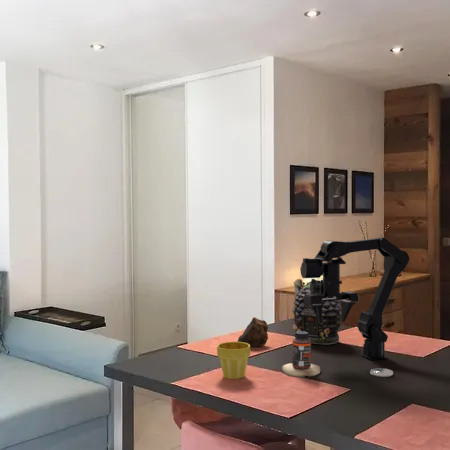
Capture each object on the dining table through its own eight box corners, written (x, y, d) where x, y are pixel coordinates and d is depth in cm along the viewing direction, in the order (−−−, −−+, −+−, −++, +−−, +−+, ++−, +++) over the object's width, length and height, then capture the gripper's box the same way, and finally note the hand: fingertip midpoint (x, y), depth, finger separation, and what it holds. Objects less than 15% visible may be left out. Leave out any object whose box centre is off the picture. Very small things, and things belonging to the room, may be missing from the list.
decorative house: (284, 341, 228) (283, 278, 227) (301, 334, 240) (301, 274, 239) (333, 348, 216) (332, 281, 215) (349, 340, 228) (348, 277, 228)
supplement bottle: (305, 371, 181) (305, 335, 181) (288, 367, 184) (288, 332, 184) (314, 366, 186) (314, 331, 185) (297, 363, 189) (297, 329, 189)
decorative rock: (265, 343, 225) (265, 315, 225) (270, 346, 219) (270, 318, 219) (236, 345, 222) (236, 317, 222) (240, 348, 216) (240, 320, 216)
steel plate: (384, 369, 186) (384, 367, 186) (397, 375, 180) (397, 373, 180) (365, 372, 184) (365, 369, 184) (378, 378, 177) (378, 375, 177)
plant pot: (226, 383, 173) (226, 350, 173) (211, 374, 182) (211, 343, 182) (256, 378, 178) (256, 346, 178) (240, 370, 187) (240, 340, 187)
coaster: (308, 364, 193) (308, 361, 193) (327, 374, 182) (327, 370, 182) (276, 368, 189) (276, 364, 189) (293, 378, 177) (293, 374, 177)
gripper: (342, 273, 208) (342, 316, 209) (296, 276, 202) (296, 320, 202) (359, 277, 198) (359, 322, 198) (311, 279, 191) (311, 326, 192)
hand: (331, 322), depth 198 cm, fingers open, 9 cm apart
